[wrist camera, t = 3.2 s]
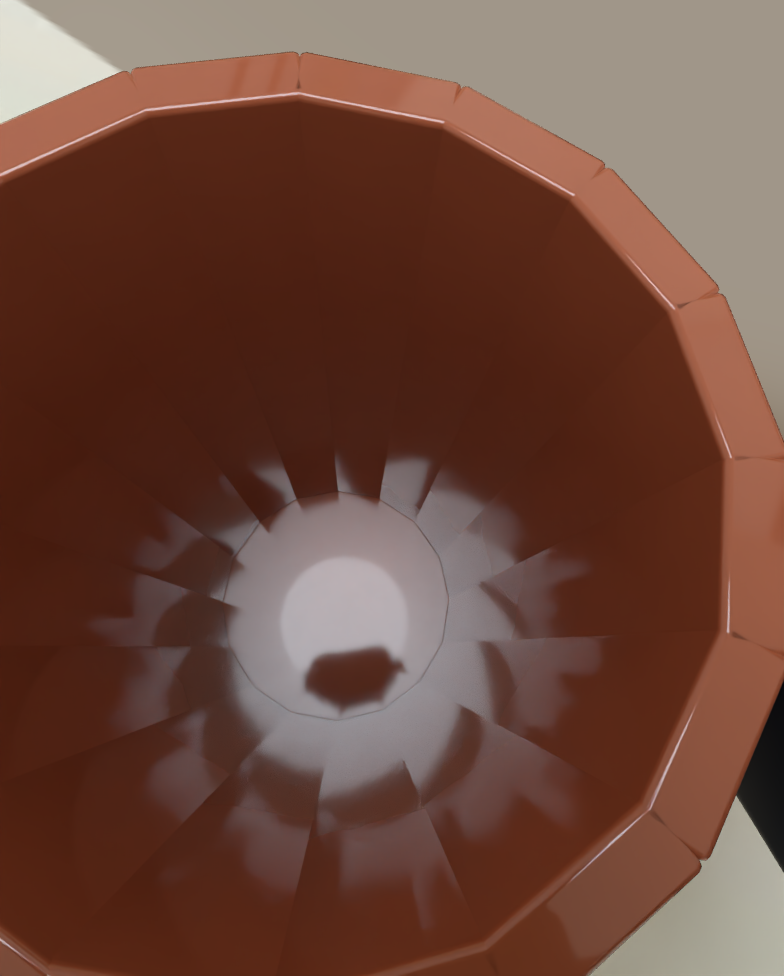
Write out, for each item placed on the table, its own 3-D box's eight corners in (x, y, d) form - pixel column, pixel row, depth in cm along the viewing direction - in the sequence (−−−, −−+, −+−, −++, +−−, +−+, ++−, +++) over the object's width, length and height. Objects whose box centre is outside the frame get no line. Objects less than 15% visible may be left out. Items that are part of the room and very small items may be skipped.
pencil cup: (510, 634, 16) (1005, 594, 4) (298, 792, 15) (29, 1508, 3) (370, 439, 18) (410, -59, 5) (164, 568, 16) (-456, 312, 4)
